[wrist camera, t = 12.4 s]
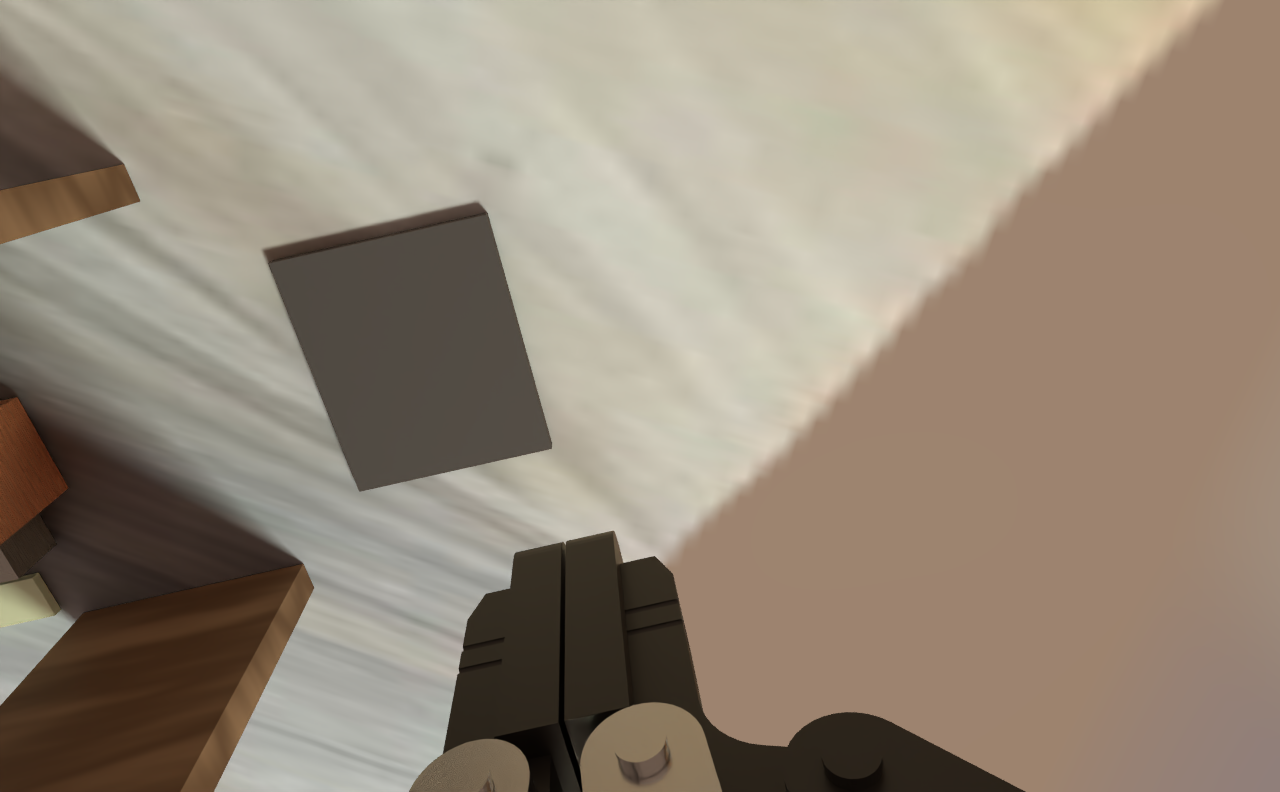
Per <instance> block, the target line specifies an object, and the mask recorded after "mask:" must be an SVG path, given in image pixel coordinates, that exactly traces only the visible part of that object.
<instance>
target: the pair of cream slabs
mask: <svg viewBox="0 0 1280 792" xmlns="http://www.w3.org/2000/svg"><path fill="white" fill-rule="evenodd" d="M60 610H61V609H60V607H59V605H58V604H57V602H56V601H55V599H54V597H53V596H52V594H51V592H50V591H49V589H48V587H47V586H46V584H45V583H44V581H43V579H42V578H41V576H40V574H39V573H34V574H30V575H25V576H21V577H20V578H19V579H16V580H11V581H7V582H2V583H0V628H1V627H5V626H10V625H14V624H19V623H23V622H27V621H32V620H36V619H41V618H45V617H50V616H54V615H56V614H57V613H58V612H59V611H60Z"/></svg>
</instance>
